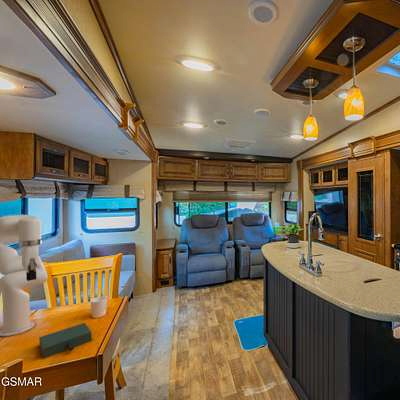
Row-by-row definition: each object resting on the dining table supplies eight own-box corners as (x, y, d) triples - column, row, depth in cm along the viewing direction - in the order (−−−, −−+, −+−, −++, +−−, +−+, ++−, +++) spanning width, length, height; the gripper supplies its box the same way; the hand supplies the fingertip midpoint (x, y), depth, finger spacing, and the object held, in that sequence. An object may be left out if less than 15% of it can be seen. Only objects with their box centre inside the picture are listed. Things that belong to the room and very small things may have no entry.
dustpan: (39, 337, 119) (45, 353, 108) (84, 322, 133) (94, 335, 122) (39, 346, 120) (45, 363, 108) (84, 330, 133) (94, 344, 122)
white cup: (97, 319, 145) (97, 302, 144) (87, 317, 146) (86, 301, 146) (110, 312, 152) (110, 297, 152) (100, 311, 154) (100, 295, 154)
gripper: (17, 242, 122) (18, 278, 122) (20, 246, 113) (21, 286, 113) (39, 239, 128) (40, 274, 128) (43, 244, 118) (44, 281, 119)
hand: (31, 279), depth 121 cm, fingers closed
